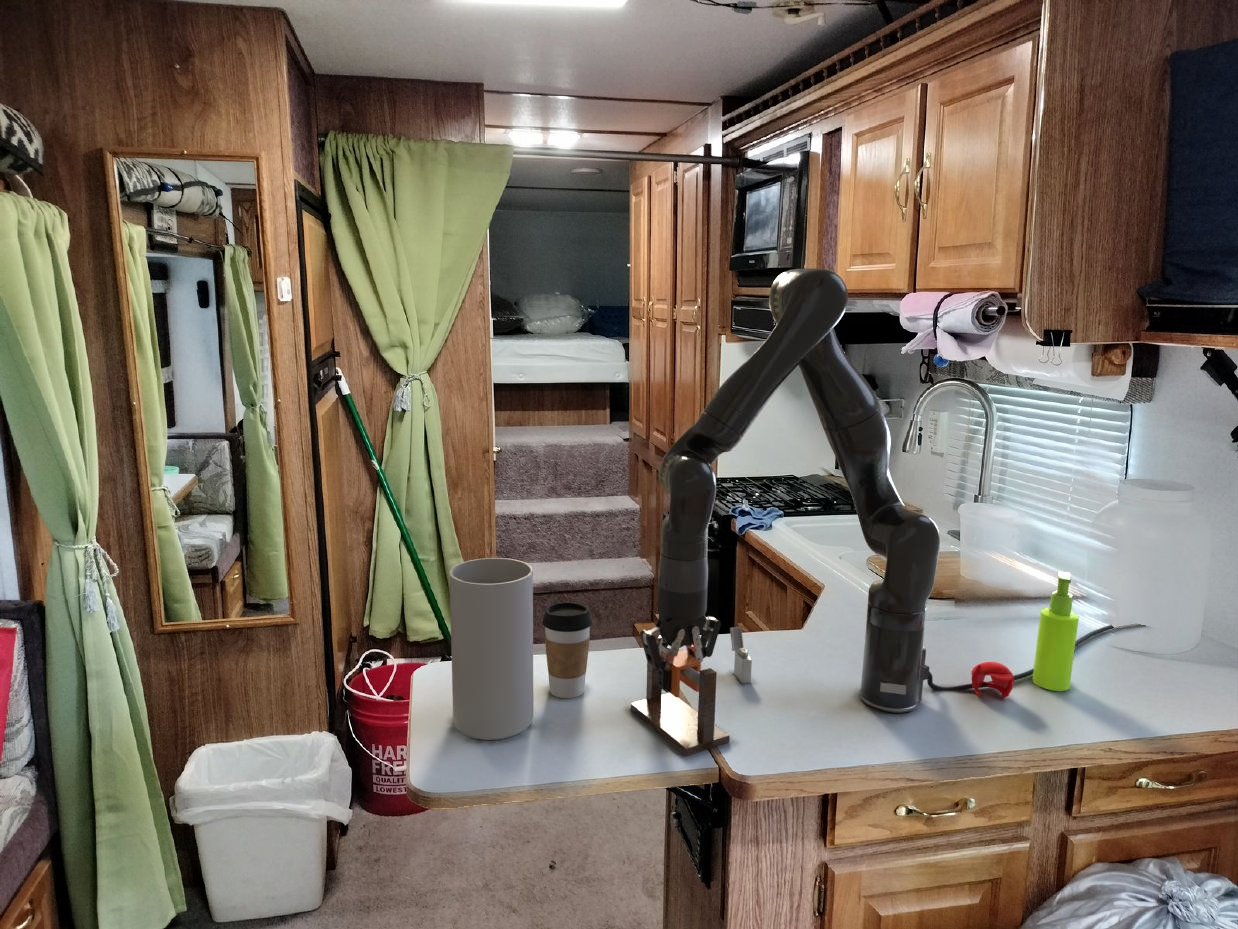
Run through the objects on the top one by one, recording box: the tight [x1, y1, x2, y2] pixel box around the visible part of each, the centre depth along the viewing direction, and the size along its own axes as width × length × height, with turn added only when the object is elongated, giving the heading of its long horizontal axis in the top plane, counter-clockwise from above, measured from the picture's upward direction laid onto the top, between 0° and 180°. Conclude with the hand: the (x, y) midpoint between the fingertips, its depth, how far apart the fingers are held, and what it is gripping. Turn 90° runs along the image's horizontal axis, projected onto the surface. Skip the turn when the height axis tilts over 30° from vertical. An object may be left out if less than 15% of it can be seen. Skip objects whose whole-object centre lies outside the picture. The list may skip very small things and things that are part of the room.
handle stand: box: [630, 635, 731, 757], centre depth 132 cm, size 8×16×12 cm, turn 30°
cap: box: [971, 661, 1015, 700], centre depth 145 cm, size 8×6×6 cm
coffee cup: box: [541, 601, 593, 699], centre depth 143 cm, size 8×8×15 cm
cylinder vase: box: [449, 557, 534, 741], centre depth 131 cm, size 12×12×25 cm
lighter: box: [729, 626, 753, 684], centre depth 151 cm, size 7×2×8 cm, turn 12°
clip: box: [665, 649, 702, 698], centre depth 132 cm, size 4×5×5 cm
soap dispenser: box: [1032, 570, 1080, 692], centre depth 149 cm, size 6×7×20 cm
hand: (679, 686), depth 132 cm, fingers closed on clip, 4 cm apart
